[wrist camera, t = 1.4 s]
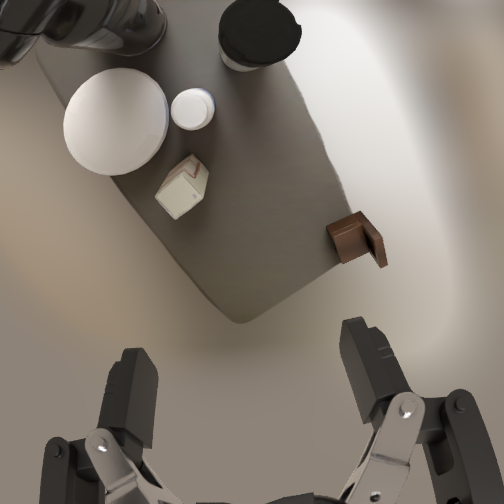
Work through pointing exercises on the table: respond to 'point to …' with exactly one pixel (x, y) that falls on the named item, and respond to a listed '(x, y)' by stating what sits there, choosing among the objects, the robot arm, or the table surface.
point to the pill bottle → (193, 108)
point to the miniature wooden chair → (357, 239)
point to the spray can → (257, 34)
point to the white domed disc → (116, 121)
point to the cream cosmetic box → (183, 186)
